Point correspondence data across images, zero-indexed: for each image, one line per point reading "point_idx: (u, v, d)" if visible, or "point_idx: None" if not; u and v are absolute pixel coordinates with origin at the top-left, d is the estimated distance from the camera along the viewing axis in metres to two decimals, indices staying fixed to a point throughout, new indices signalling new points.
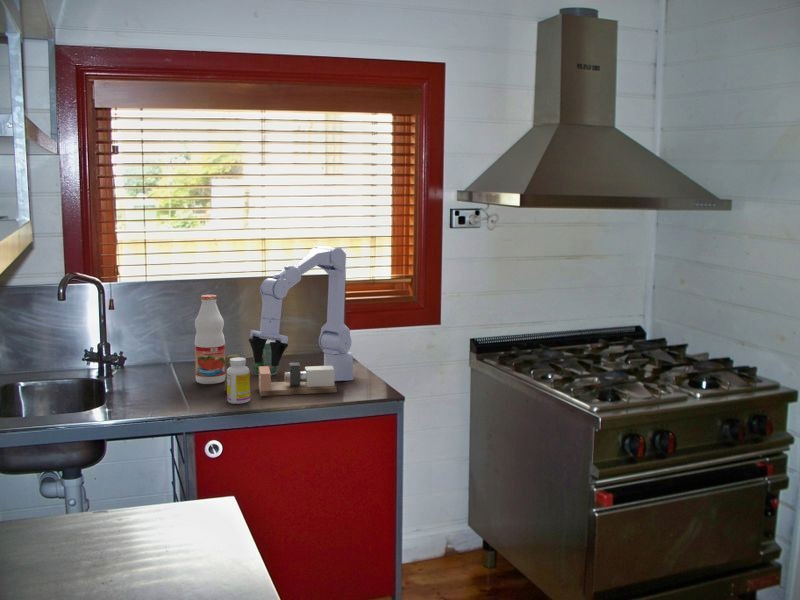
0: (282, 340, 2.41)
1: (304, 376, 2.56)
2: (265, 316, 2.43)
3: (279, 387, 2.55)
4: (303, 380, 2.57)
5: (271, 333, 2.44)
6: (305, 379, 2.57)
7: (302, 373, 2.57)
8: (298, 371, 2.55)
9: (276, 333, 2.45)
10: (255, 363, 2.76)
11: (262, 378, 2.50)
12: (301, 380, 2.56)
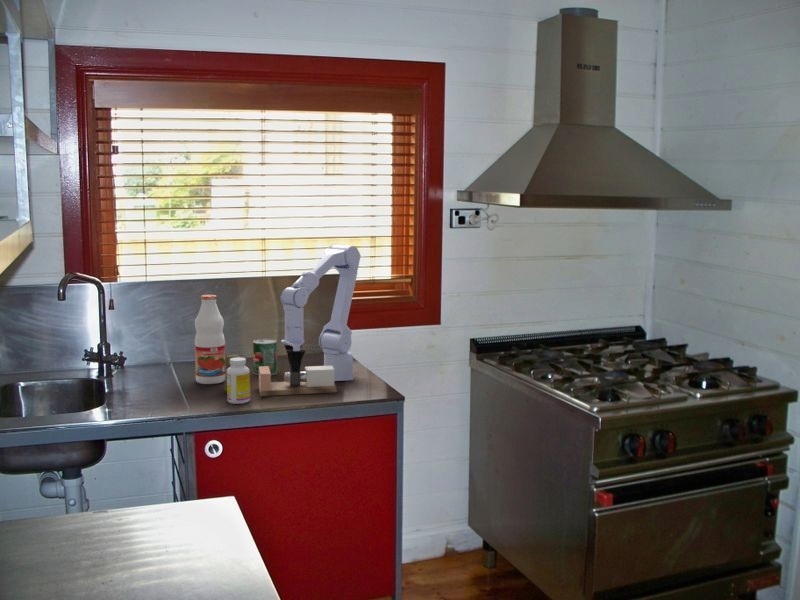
0: (293, 348, 2.49)
1: (304, 376, 2.56)
2: (289, 325, 2.52)
3: (279, 387, 2.55)
4: (303, 380, 2.57)
5: (290, 341, 2.53)
6: (305, 379, 2.57)
7: (302, 373, 2.57)
8: None
9: (296, 340, 2.53)
10: (255, 363, 2.76)
11: (262, 378, 2.50)
12: (301, 380, 2.56)
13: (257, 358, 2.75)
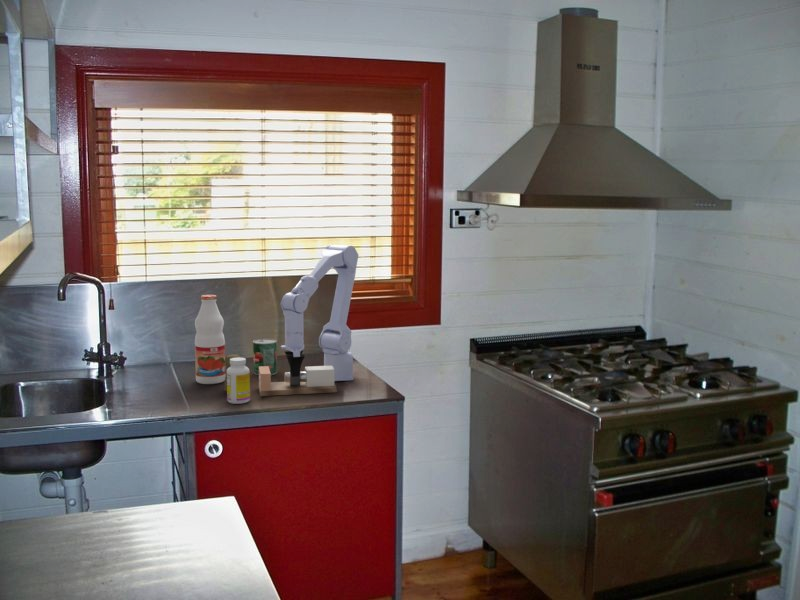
0: (293, 354, 2.49)
1: (304, 376, 2.56)
2: (289, 331, 2.52)
3: (279, 387, 2.55)
4: (303, 380, 2.57)
5: (290, 346, 2.53)
6: (305, 379, 2.57)
7: (302, 373, 2.57)
8: None
9: (296, 346, 2.53)
10: (255, 363, 2.76)
11: (262, 378, 2.50)
12: (301, 380, 2.56)
13: (257, 358, 2.75)
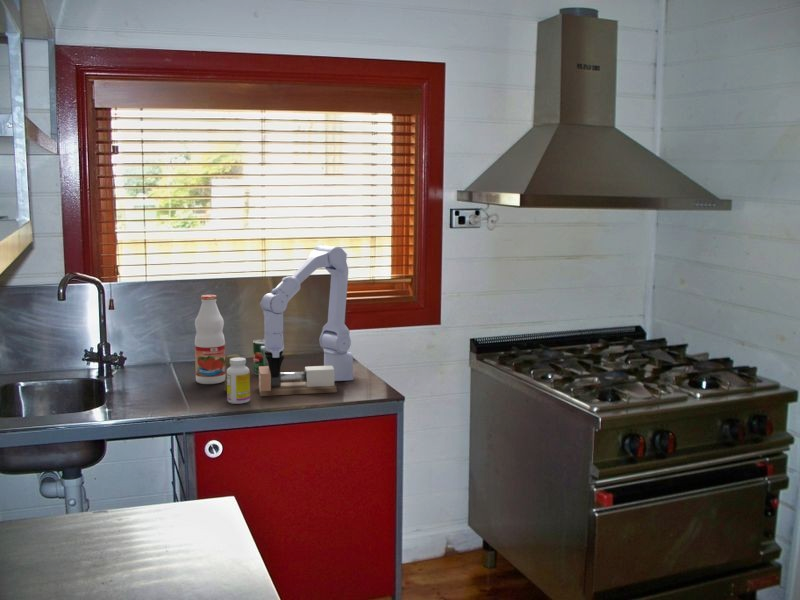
0: (272, 355, 2.48)
1: (285, 377, 2.55)
2: (267, 331, 2.51)
3: (279, 387, 2.55)
4: (283, 381, 2.55)
5: (270, 347, 2.52)
6: (285, 380, 2.55)
7: (282, 374, 2.55)
8: None
9: (275, 347, 2.52)
10: (255, 363, 2.76)
11: (262, 378, 2.50)
12: (281, 381, 2.55)
13: (257, 358, 2.75)
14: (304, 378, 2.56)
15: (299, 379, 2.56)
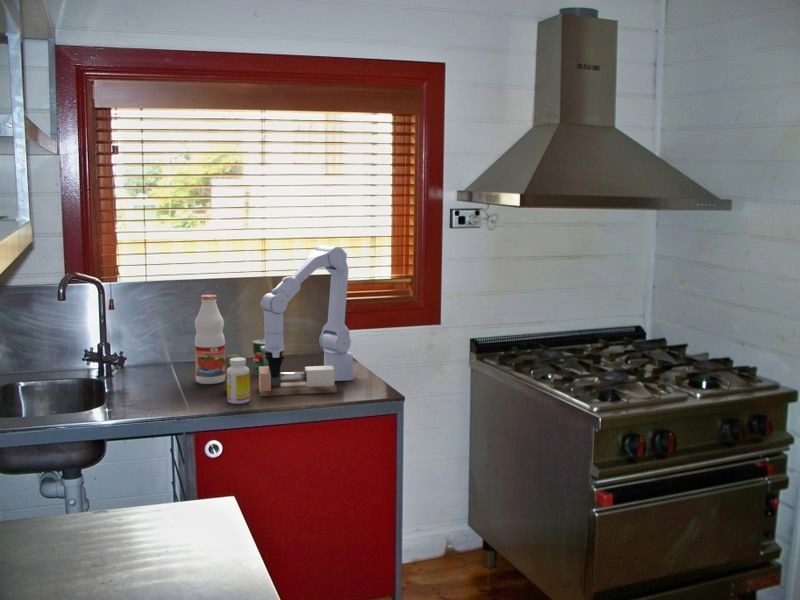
0: (272, 355, 2.48)
1: (285, 377, 2.55)
2: (267, 331, 2.51)
3: (279, 387, 2.55)
4: (283, 381, 2.55)
5: (270, 347, 2.52)
6: (285, 380, 2.55)
7: (282, 374, 2.55)
8: None
9: (275, 347, 2.52)
10: (255, 363, 2.76)
11: (262, 378, 2.50)
12: (281, 381, 2.55)
13: (257, 358, 2.75)
14: (304, 378, 2.56)
15: (299, 379, 2.56)
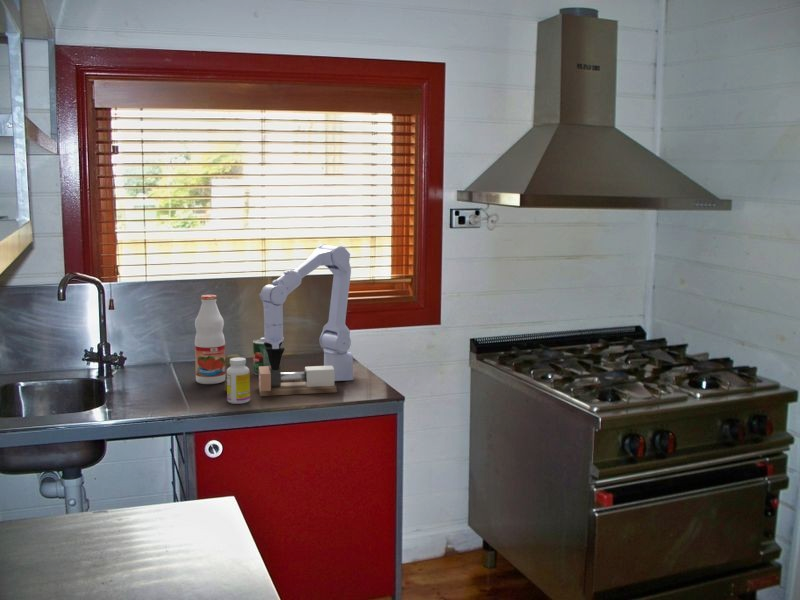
0: (272, 346, 2.47)
1: (285, 377, 2.55)
2: (266, 322, 2.51)
3: (279, 387, 2.55)
4: (283, 381, 2.55)
5: (269, 338, 2.51)
6: (286, 380, 2.55)
7: (282, 374, 2.55)
8: (278, 372, 2.54)
9: (275, 338, 2.51)
10: (255, 363, 2.76)
11: (262, 378, 2.50)
12: (281, 381, 2.55)
13: (257, 358, 2.75)
14: (304, 378, 2.56)
15: (299, 379, 2.56)
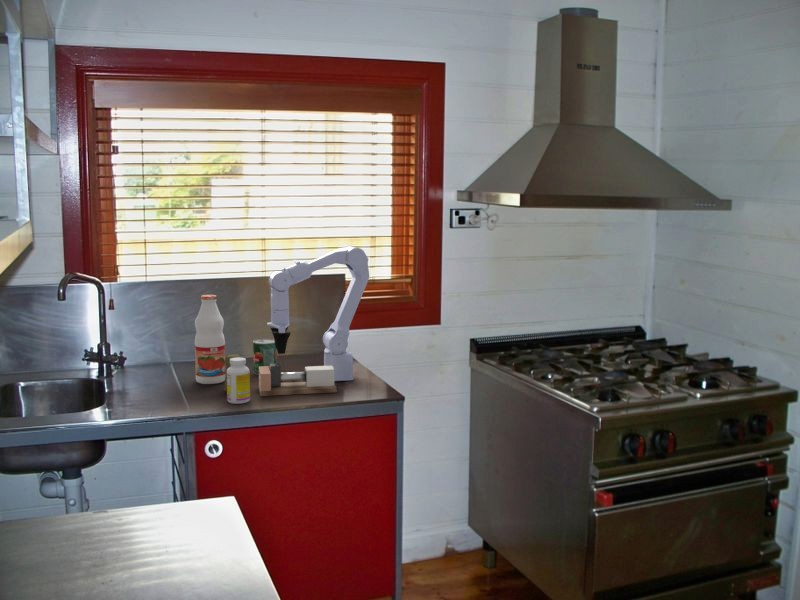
0: (278, 330, 2.57)
1: (285, 377, 2.55)
2: (271, 307, 2.61)
3: (279, 387, 2.55)
4: (283, 381, 2.55)
5: (276, 323, 2.61)
6: (286, 380, 2.55)
7: (282, 374, 2.55)
8: (278, 372, 2.54)
9: (281, 323, 2.61)
10: (255, 363, 2.76)
11: (262, 378, 2.50)
12: (281, 381, 2.55)
13: (257, 358, 2.75)
14: (304, 378, 2.56)
15: (299, 379, 2.56)
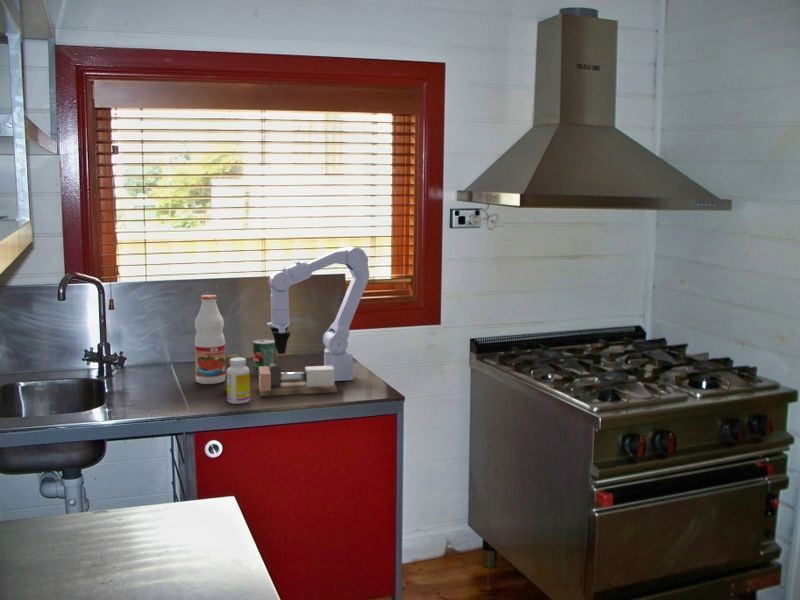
0: (278, 330, 2.57)
1: (285, 377, 2.55)
2: (271, 307, 2.61)
3: (279, 387, 2.55)
4: (283, 381, 2.55)
5: (276, 323, 2.61)
6: (286, 380, 2.55)
7: (282, 374, 2.55)
8: (278, 372, 2.54)
9: (281, 323, 2.61)
10: (255, 363, 2.76)
11: (262, 378, 2.50)
12: (281, 381, 2.55)
13: (257, 358, 2.75)
14: (304, 378, 2.56)
15: (299, 379, 2.56)
